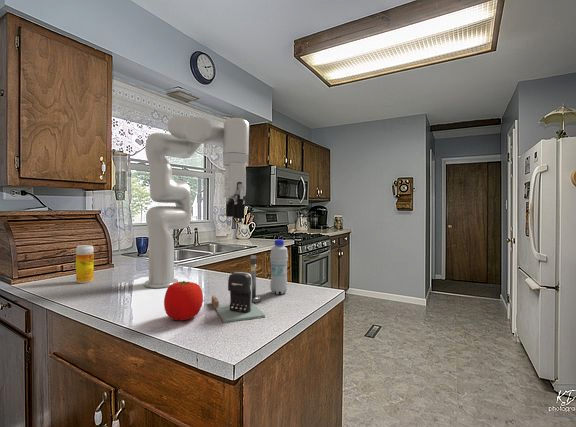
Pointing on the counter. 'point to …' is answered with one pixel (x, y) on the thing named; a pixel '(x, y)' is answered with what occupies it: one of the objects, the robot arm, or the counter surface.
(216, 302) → the holder
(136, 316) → the counter surface
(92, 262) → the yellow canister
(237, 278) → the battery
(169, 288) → the tomato
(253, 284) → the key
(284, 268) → the bottle
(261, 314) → the mat
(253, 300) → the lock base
